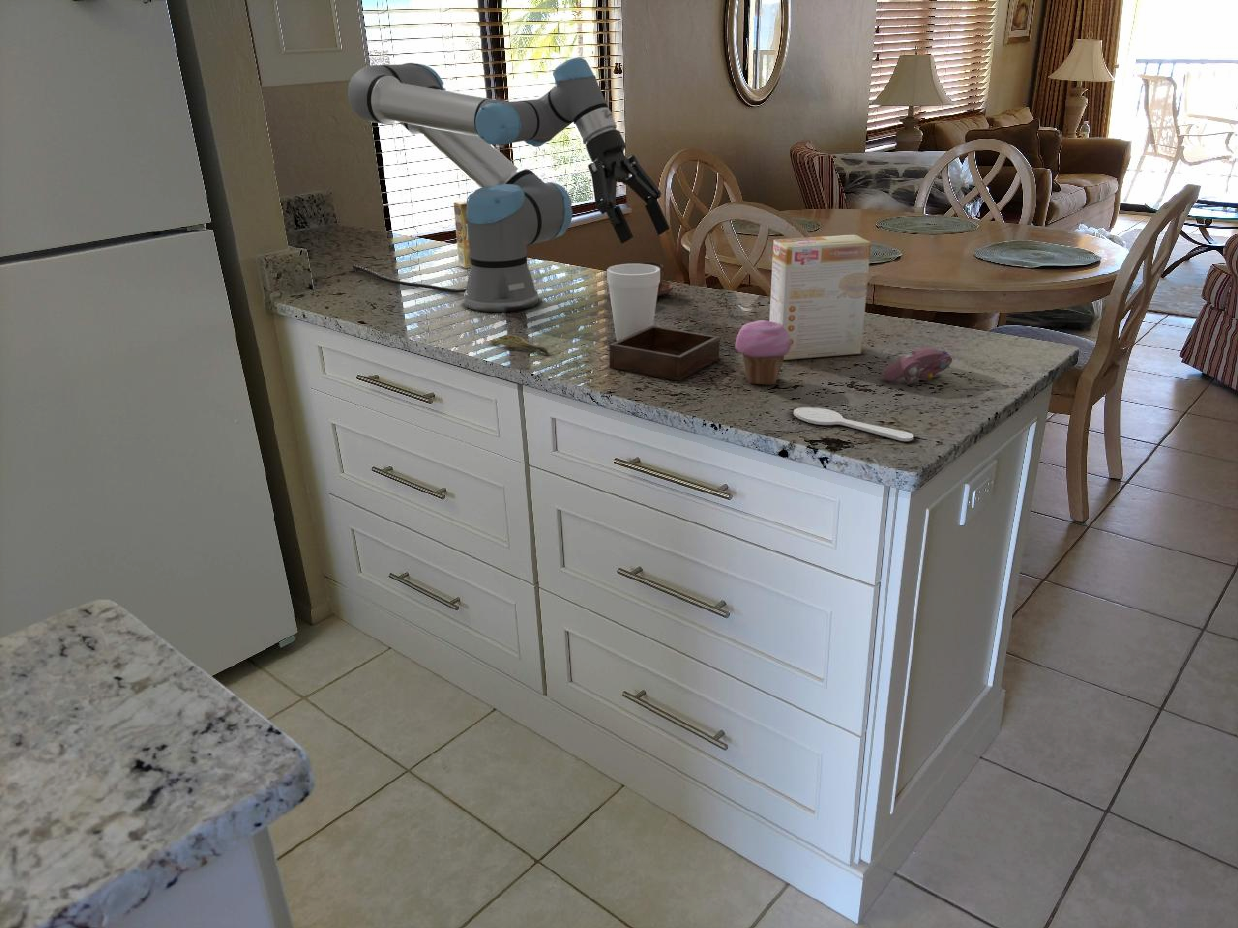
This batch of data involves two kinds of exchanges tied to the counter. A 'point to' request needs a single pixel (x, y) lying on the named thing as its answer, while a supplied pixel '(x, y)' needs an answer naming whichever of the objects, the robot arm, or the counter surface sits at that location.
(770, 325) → the cupcake
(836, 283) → the coffeecake box
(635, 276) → the foam cup
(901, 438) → the spoon
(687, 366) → the wooden tray
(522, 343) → the olive green tapered piece
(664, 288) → the cup and saucer
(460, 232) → the candy box
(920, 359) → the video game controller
